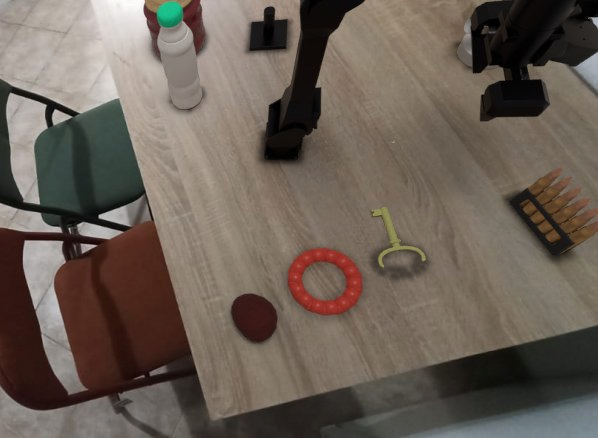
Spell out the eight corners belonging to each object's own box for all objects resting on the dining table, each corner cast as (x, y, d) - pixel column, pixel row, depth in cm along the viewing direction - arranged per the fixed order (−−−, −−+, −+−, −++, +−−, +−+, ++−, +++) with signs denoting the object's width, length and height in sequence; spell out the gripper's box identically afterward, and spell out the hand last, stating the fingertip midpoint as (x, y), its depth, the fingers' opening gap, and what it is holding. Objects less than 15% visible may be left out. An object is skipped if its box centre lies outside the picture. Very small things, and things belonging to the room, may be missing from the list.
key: (382, 207, 79) (385, 202, 77) (429, 265, 74) (434, 261, 72) (345, 225, 80) (347, 221, 78) (390, 284, 74) (393, 280, 72)
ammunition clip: (566, 252, 69) (622, 222, 59) (554, 256, 69) (607, 227, 59) (520, 197, 74) (563, 160, 64) (508, 200, 74) (550, 164, 64)
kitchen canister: (171, 17, 112) (158, -47, 97) (216, 30, 107) (209, -36, 91) (143, 54, 110) (125, -6, 94) (187, 69, 104) (175, 8, 89)
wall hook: (463, 2, 81) (527, -10, 79) (443, 41, 90) (501, 31, 87) (478, 36, 78) (546, 25, 75) (456, 73, 86) (516, 64, 83)
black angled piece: (249, 51, 102) (249, 25, 95) (251, 25, 105) (251, -2, 98) (286, 48, 99) (288, 22, 93) (287, 22, 102) (289, -5, 96)
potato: (268, 293, 79) (269, 284, 73) (283, 339, 75) (285, 333, 70) (228, 302, 80) (226, 293, 75) (240, 348, 76) (239, 342, 71)
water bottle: (167, 108, 101) (144, 21, 79) (177, 84, 103) (157, -7, 81) (196, 112, 99) (180, 24, 77) (206, 87, 101) (193, -5, 79)
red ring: (286, 312, 76) (286, 309, 74) (288, 248, 81) (289, 243, 79) (361, 321, 73) (364, 318, 71) (359, 253, 77) (362, 248, 75)
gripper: (642, 70, 48) (556, 147, 62) (603, -47, 55) (534, 46, 69) (518, 75, 52) (463, 147, 65) (496, -36, 59) (450, 50, 72)
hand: (480, 96), depth 68 cm, fingers open, 9 cm apart
